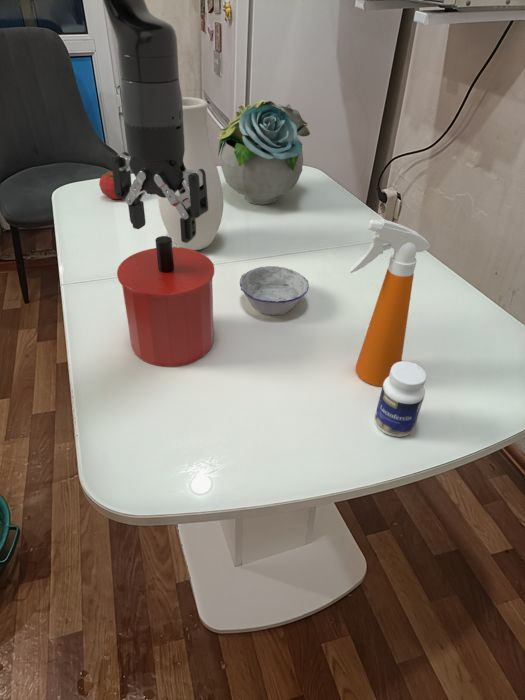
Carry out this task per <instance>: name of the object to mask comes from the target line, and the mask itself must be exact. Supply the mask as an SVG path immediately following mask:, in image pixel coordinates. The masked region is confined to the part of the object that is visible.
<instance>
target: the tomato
mask: <svg viewBox="0 0 525 700" xmlns="http://www.w3.org/2000/svg"><path fill="white" fill-rule="evenodd" d="M98 183H99V184H98V186H99V188H100V191H101V193H102V194H103V195H104V196H106V197H107V198H108V199H111V200H112V199H113V200H119V199H120V200H121V198H117V197H116V195H115V191H114V180H113V171H108V172H104V173H102V174H101V176H100V178H99V182H98Z"/></svg>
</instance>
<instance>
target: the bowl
mask: <svg viewBox="0 0 525 700" xmlns="http://www.w3.org/2000/svg"><path fill="white" fill-rule="evenodd" d="M239 287H240V291H241V292H243V294H244V295H245V297H246V298H247V300H248V302H249V303H250V305H251V306H252V307H253V308H254V310H255V311H257V312H259V313H261V314H264V315H268V316H279V315H280V316H281V315H285V314H287V313H289V312H291V310H292V309H294V307H295V306H296V305H297V303H299V301H300V300H301V299H302V298H304V296H305V295H306V294H307V293H308V291H309V288H310V284H309V280H308V279H307V278H306V277H305V276H304V275H302V274H301V273H299V272H297V271H295V270H293V269H292V268H291V269H290V268H287V267H283V266H274V265H268V266H260V267H255V268H253V269H250V270H249V271H247V272H246V273H243V274H242V275H241V276H240V279H239Z"/></svg>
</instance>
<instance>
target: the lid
mask: <svg viewBox="0 0 525 700" xmlns="http://www.w3.org/2000/svg"><path fill="white" fill-rule="evenodd" d="M154 242H155V247H153V248H149V249H148V248H147V249H144V250H140V251H138V252H136V253H133V254H131V255H130V256H127V257H126V258H125V259H123V261H121V262H120V264H119V265H118V267H117V271H116V275H117V277H116V278H117V280H118V282H119V283H120V285H121V286H123V287H125V288H126V289H127V290H129V291H131V292H134V293H136V294H139V295H143V296H149V297H176V296H181V295H186V294H189V293H192V292H195V291H197V290H199V289H201V288H203V287H204V286H206V285H207V284H208V283H209V282H210V281H211V279H212V280H213V278H214V276H215V265H214V262H212V260H211V259H210V258H209V257H208V256H207V255H205V254H203V253H202V252H199V251H198V250H190V249H186V248H181V247H179V246H177V247H175V246H173V240H172V239H171V237H170V236H169V235H161V236H157V237H156V238H155V241H154Z"/></svg>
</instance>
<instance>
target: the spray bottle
mask: <svg viewBox="0 0 525 700" xmlns="http://www.w3.org/2000/svg"><path fill="white" fill-rule="evenodd" d="M367 228H368V230H370V231H372V232H375V234H374V235H373V236H372V244H371V245H370V246H369V248H368V249H367V251H366V252H365V253H364V254H363V256H361V258H360V259H359V260H358V261H357V262H356V263H354V265H353V266H351V267H350V268H349V272H350V274H352V273H354V272H355V273H356V272H358V271H359V270H361V269H363V268H364V267H365V266H367V265H368V264H370V263H372V262H373V261H374V260H375V259H376V258H377V257H379V256H380V255H383V253H384V252H385V251H388V250H391V249H393V253H392V254H391V255H390V257H389V262H388V266H387V268H386V269H387V270H386V273H385V274H384V278H383V281H382V284H381V288H380V291H379V294H378V297H377V300H376V303H375V306H374V309H373V312H372V315H371V317H370V321H369V324H368V327H367V329H366V330H367V331H366V334H365V336H364V339H363V342H362V346H361V348H360V352H359V355H358V357H357V360H356V363H355V373H356V374H357V376H358V377H359V379H361V380H362V381H363V382H364V383H366V384H369V385H372V386H377V387H383V383H384V381H385V379H386V378H387V377H388V376H389V374H390V371H391V368H392V366H393V365H394V364H395V363H397V362H401V361H402V360H403V354H404V353H403V352H404V345H405V340H406V339H405V338H406V332H407V324H408V317H409V311H410V303H411V298H412V297H411V296H412V290H413V289H412V288H413V281H414V276H415V275H414V274H415V273H414V272H415V270H416V265H417V258H416V255H417V253H422V252H425V251H427V250H430V248H431V247H432V246H431V244H430V243H429V242H428V241H427V239H426V238H425V237H424V236H422V235H421V234H420V233H419V232H417V231H415V230H414V229H411V228H409V227H407V226H405V225H402V224H401V223H397V222H394V221H391V220H388V219H383V218H381V219H380V220H376V219H371V220H370V221H369V222H368V227H367Z"/></svg>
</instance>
